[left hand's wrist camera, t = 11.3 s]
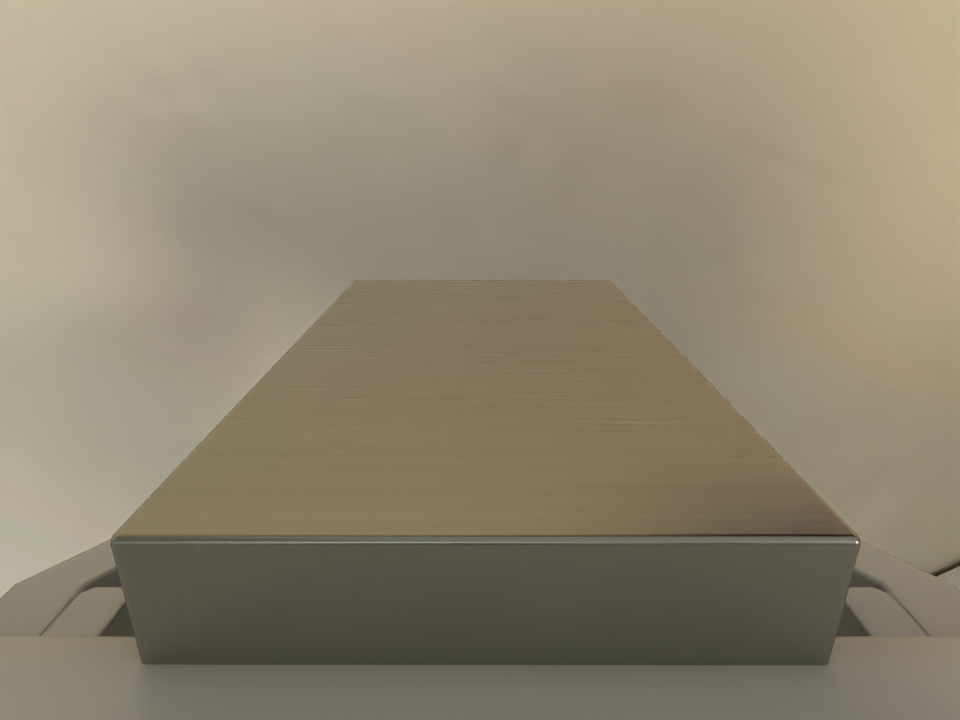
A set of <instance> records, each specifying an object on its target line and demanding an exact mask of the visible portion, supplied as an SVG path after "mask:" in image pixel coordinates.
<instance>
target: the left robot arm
mask: <svg viewBox="0 0 960 720" xmlns="http://www.w3.org/2000/svg"><path fill="white" fill-rule="evenodd" d="M110 544H111V539H110V540H108V541H106V542H104V543H102V544H100V545H98V546H95V547H93V548H91V549H89V550H87V551H85V552H83V553H81V554H79V555H76V556H74V557H72V558H70V559H68V560H66V561H64V562H62V563H60V564H57V565H55V566H53V567H51V568H49V569H47V570H45V571H43V572H41V573H38V574H36V575H34V576H32V577H30V578H28V579H26V580H24V581H22V582H19V583H17V584H15V585H14V586H13V587H12V588H11V589H10V590H9V591H8V592H7V593H6V594H5V595H4V596H3V597H1V598H0V720H960V566H958V567H956V568H954V569H952V570H950V571H947V572H945V573H943V574H941V575H939V576H933V575H931V574H929V573H927V572H925V571H923V570H921V569H919V568H916V567H914V566H912V565H910V564H908V563H906V562H904V561H902V560H899V559H897V558H895V557H893V556H891V555H889V554H887V553H885V552H882V551H880V550H878V549H876V548H874V547H872V546H870V545H868V544H865V543H863V542H861V541H860V544H861V546H860V549H859V553H858V557H857V560H856V564H855V568H854V571H853V575H852V579H851V583H850V586H849V590H848V594H847V597H846V601H845V605H844V608H843V612H842V616H841V619H840V623H839V627H838V630H837V634H836V638H835V641H834V645H833V649H832V652H831V656H830V660H829V664H827V665H146V664H143V663H142V662H141V658H140V655H139V651H138V647H137V643H136V639H135V636H134V632H133V628H132V624H131V620H130V617H129V613H128V609H127V605H126V602H125V598H124V594H123V590H122V586H121V583H120V579H119V575H118V571H117V568H116V564H115V560H114V556H113V552H112V549H111V545H110Z"/></svg>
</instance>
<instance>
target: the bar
mask: <svg viewBox="0 0 960 720" xmlns="http://www.w3.org/2000/svg"><path fill="white" fill-rule="evenodd" d="M110 545H111V549H112V552H113V556H114V560H115V564H116V568H117V571H118V575H119V579H120V583H121V586H122V590H123V594H124V598H125V602H126V605H127V609H128V613H129V617H130V620H131V624H132V628H133V632H134V636H135V639H136V643H137V647H138V651H139V655H140V658H141V662H142V663H143V664H146V665H827V664H829V660H830V656H831V652H832V649H833V645H834V641H835V638H836V634H837V630H838V627H839V623H840V619H841V616H842V612H843V608H844V605H845V601H846V597H847V594H848V590H849V586H850V583H851V579H852V575H853V571H854V568H855V564H856V560H857V557H858V553H859V549H860V546H861V544H860V539H859V537H858V535H857V534H856V533H855V532H854V531H853V530H852V529H851V528H850V527H849V526H848V525H847V524H846V523H845V522H844V521H843V520H842V519H841V518H840V517H839V516H838V515H837V514H836V513H835V512H834V511H833V509H832V508H831V507H830V506H829V505H828V504H827V503H826V502H825V501H824V500H823V499H822V498H821V497H820V496H819V495H818V494H817V493H816V492H815V491H814V490H813V489H812V488H811V487H810V486H809V485H808V484H807V483H806V482H805V481H804V480H803V479H802V478H801V477H800V475H799V474H798V473H797V472H796V471H795V470H794V469H793V468H792V467H791V466H790V465H789V464H788V463H787V462H786V461H785V460H784V459H783V458H782V457H781V456H780V455H779V454H778V453H777V452H776V451H775V450H774V449H773V448H772V447H771V446H770V445H769V444H768V443H767V441H766V440H765V439H764V438H763V437H762V436H761V435H760V434H759V433H758V432H757V431H756V430H755V429H754V428H753V427H752V426H751V425H750V424H749V423H748V422H747V421H746V420H745V419H744V418H743V417H742V416H741V415H740V414H739V413H738V412H737V411H736V410H735V409H734V408H733V406H732V405H731V404H730V403H729V402H728V401H727V400H726V399H725V398H724V397H723V396H722V395H721V394H720V393H719V392H718V391H717V390H716V389H715V388H714V387H713V386H712V385H711V384H710V383H709V382H708V381H707V380H706V379H705V378H704V377H703V376H702V375H701V374H700V372H699V371H698V370H697V369H696V368H695V367H694V366H693V365H692V364H691V363H690V362H689V361H688V360H687V359H686V358H685V357H684V356H683V355H682V354H681V353H680V352H679V351H678V350H677V349H676V348H675V347H674V346H673V345H672V344H671V343H670V342H669V341H668V340H667V338H666V337H665V336H664V335H663V334H662V333H661V332H660V331H659V330H658V329H657V328H656V327H655V326H654V325H653V324H652V323H651V322H650V321H649V320H648V319H647V318H646V317H645V316H644V315H643V314H642V313H641V312H640V311H639V310H638V309H637V308H636V307H635V306H634V305H633V303H632V302H631V301H630V300H629V299H628V298H627V297H626V296H625V295H624V294H623V293H622V292H621V291H620V290H619V289H618V288H617V287H616V286H615V285H614V284H613V283H612V282H611V281H609V280H356V281H354V282H353V283H352V284H351V285H350V286H349V287H348V288H347V289H346V290H345V291H344V292H343V293H342V294H341V296H340V297H339V298H338V299H337V300H336V301H335V302H334V303H333V304H332V305H331V306H330V307H329V308H328V309H327V310H326V311H325V312H324V313H323V315H322V316H321V317H320V318H319V319H318V320H317V321H316V322H315V323H314V324H313V325H312V326H311V327H310V328H309V329H308V330H307V331H306V332H305V333H304V335H303V336H302V337H301V338H300V339H299V340H298V341H297V342H296V343H295V344H294V345H293V346H292V347H291V348H290V349H289V350H288V351H287V352H286V353H285V355H284V356H283V357H282V358H281V359H280V360H279V361H278V362H277V363H276V364H275V365H274V366H273V367H272V368H271V369H270V370H269V371H268V372H267V374H266V375H265V376H264V377H263V378H262V379H261V380H260V381H259V382H258V383H257V384H256V385H255V386H254V387H253V388H252V389H251V390H250V391H249V392H248V394H247V395H246V396H245V397H244V398H243V399H242V400H241V401H240V402H239V403H238V404H237V405H236V406H235V407H234V408H233V409H232V410H231V411H230V412H229V414H228V415H227V416H226V417H225V418H224V419H223V420H222V421H221V422H220V423H219V424H218V425H217V426H216V427H215V428H214V429H213V430H212V431H211V432H210V434H209V435H208V436H207V437H206V438H205V439H204V440H203V441H202V442H201V443H200V444H199V445H198V446H197V447H196V448H195V449H194V450H193V451H192V453H191V454H190V455H189V456H188V457H187V458H186V459H185V460H184V461H183V462H182V463H181V464H180V465H179V466H178V467H177V468H176V469H175V470H174V471H173V473H172V474H171V475H170V476H169V477H168V478H167V479H166V480H165V481H164V482H163V483H162V484H161V485H160V486H159V487H158V488H157V489H156V490H155V491H154V493H153V494H152V495H151V496H150V497H149V498H148V499H147V500H146V501H145V502H144V503H143V504H142V505H141V506H140V507H139V508H138V509H137V510H136V512H135V513H134V514H133V515H132V516H131V517H130V518H129V519H128V520H127V521H126V522H125V523H124V524H123V525H122V526H121V527H120V528H119V529H118V530H117V532H116V533H115V534H114V535H113V536H112V539H111V544H110Z"/></svg>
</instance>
